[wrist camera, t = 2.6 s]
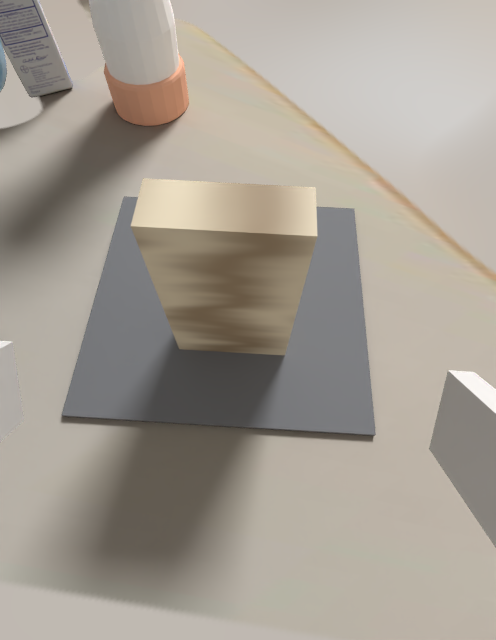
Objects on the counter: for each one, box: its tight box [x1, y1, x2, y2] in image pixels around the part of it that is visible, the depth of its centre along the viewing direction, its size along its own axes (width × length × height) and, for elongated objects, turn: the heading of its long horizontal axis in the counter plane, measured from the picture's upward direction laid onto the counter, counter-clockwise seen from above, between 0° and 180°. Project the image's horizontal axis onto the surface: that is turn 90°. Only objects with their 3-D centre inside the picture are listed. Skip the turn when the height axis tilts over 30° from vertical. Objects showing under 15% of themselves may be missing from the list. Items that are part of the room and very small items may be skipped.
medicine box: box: [0, 0, 73, 97], centre depth 35 cm, size 8×4×9 cm, turn 24°
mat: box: [62, 197, 376, 436], centre depth 27 cm, size 19×18×1 cm
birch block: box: [131, 178, 317, 355], centre depth 20 cm, size 7×2×12 cm, turn 87°
